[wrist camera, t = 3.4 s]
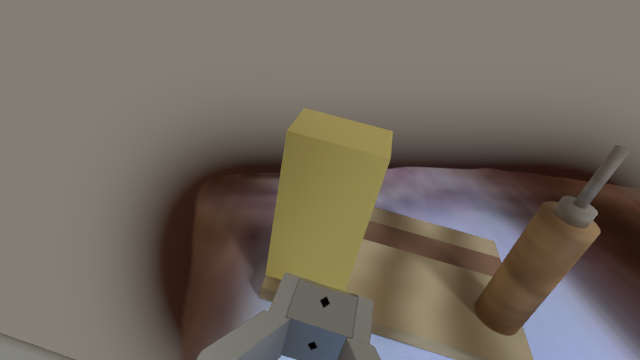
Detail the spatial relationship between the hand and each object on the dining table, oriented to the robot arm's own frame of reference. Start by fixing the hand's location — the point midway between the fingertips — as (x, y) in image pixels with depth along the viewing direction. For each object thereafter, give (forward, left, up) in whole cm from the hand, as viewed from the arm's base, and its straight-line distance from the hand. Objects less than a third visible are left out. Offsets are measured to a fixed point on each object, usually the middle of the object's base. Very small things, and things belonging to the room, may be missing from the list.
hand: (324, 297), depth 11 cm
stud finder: (-1, -12, -11) cm, 16 cm away
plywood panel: (-8, -15, -13) cm, 21 cm away
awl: (-16, -10, -11) cm, 22 cm away
